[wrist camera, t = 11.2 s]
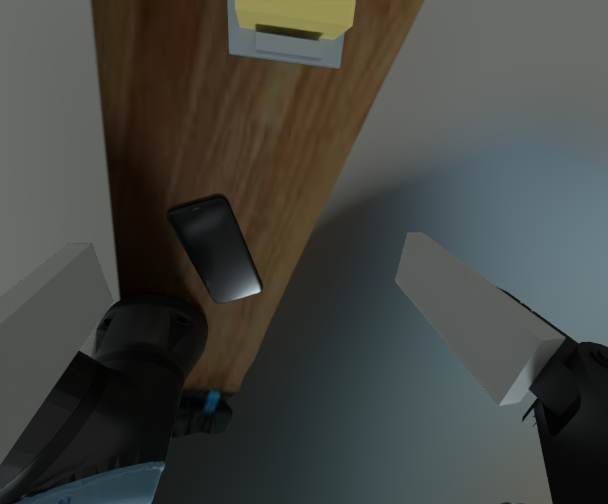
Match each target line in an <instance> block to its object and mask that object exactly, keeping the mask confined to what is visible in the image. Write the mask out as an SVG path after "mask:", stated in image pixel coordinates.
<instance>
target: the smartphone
mask: <svg viewBox="0 0 608 504" xmlns="http://www.w3.org/2000/svg"><path fill="white" fill-rule="evenodd" d="M167 218H168V221H169V223H170V224H171V226H172V228H173V230H174V232H175V233H176V235H177V237H178V239H179V241H180V242H181V244H182V246H183V248H184V250H185V251H186V253H187V255H188V256H189V258H190V260H191V262H192V263H193V265H194V267H195V269H196V271H197V272H198V274H199V276H200V278H201V279H202V281H203V283H204V285H205V286H206V288H207V290H208V292H209V294H210V295H211V297H212V299H213V300H214V302H216V303H218V304H222V303H226V302H229V301H233V300H237V299H240V298H244V297H247V296H251V295H254V294H257V293H260V292H261V291H262V289H263V285H262V283H261V280H260V278H259V275H258V273H257V271H256V268H255V266H254V263H253V261H252V258H251V256H250V254H249V251H248V249H247V246H246V244H245V242H244V239H243V237H242V234H241V231H240V229H239V226H238V224H237V222H236V220H235V217H234V215H233V213H232V210H231V208H230V205H229V203H228V201H227V200H226V199H225V198H223V197H215V198H211V199H207V200H204V201H200V202H197V203H193V204H190V205H186V206H183V207H179V208H176V209H172V210H171V211H169V212H168V214H167Z"/></svg>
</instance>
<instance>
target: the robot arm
mask: <svg viewBox="0 0 608 504" xmlns="http://www.w3.org/2000/svg"><path fill="white" fill-rule="evenodd" d="M395 282H396V283H397V284H398V286H399V287H400V288H401V289H402V290H403V292H404V293H405V294H406V295H407V296H408V298H409V299H410V300H411V301H412V302H413V304H414V305H415V306H416V307H417V308H418V310H419V311H420V312H421V313H422V314H423V316H424V317H425V318H426V319H427V320H428V322H429V323H430V324H431V325H432V326H433V328H434V329H435V330H436V331H437V332H438V334H439V335H440V336H441V337H442V339H443V340H444V341H445V342H446V343H447V345H448V346H449V347H450V348H451V349H452V351H453V352H454V353H455V354H456V355H457V357H458V358H459V359H460V360H461V361H462V362H463V364H464V365H465V366H466V367H467V369H468V370H469V371H470V372H471V373H472V375H473V376H474V377H475V378H476V379H477V381H478V382H479V383H480V384H481V385H482V387H483V388H484V389H485V390H486V391H487V393H488V394H489V395H490V396H491V397H492V399H493V400H494V401H495V402H496V403H497V405H498V406H501V405H507V404H513V403H519V402H520V401H521V400H522V398H523V397H524V395H525V394H526V393H527V391H528V390H530V391H532V393H533V394H534V395H535V396H536V397H537V399H536V400H535V402H534V403H533V404H532V405H531V407H530V408H529V409H528V411H527V412H526V413H525V415H524V416H523V419H522V423H524V424H527V423H528V422H529V421H530V420H531V418H532V417H535V418H536V423H535V424H534V425H533V428H535V429H537V430H538V433H539V438H540V443H541V448H542V453H543V458H544V462H545V468H546V473H547V477H548V483H549V487H550V492H551V497H552V502H553V504H608V347H606V346H603V345H601V344H597V343H592V342H581V343H580V344H579V343H577V342H576V341H574V340H573V339H572V338H570V337H569V336H567V335H566V334H565V333H563V332H562V331H561V330H559V329H558V328H556V327H555V326H554V325H552V324H551V323H550V322H548V321H547V320H545V319H544V318H543V317H541V316H540V315H538V314H537V313H535V312H534V311H533V312H532V311H531V309H530V308H529V307H527V306H526V305H524V304H523V303H520V301H519V300H518V299H516V298H515V297H514V296H512V295H511V294H509V293H508V292H506V291H504V290H502V289H500V288H498V287H496V286H494V285H493V284H492V283H490V282H489V281H488V280H486V279H485V278H484V277H482V276H481V275H480V274H478V273H477V272H476V271H474V270H473V269H471V268H470V267H469V266H467V265H466V264H465V263H463V262H462V261H460V260H459V259H458V258H456V257H455V256H453V255H452V254H451V253H450V252H448V251H447V250H446V249H444V248H443V247H441V246H440V245H439V244H437V243H436V242H435V241H433V240H432V239H431V238H429V237H428V236H426V235H425V234H424V233H422V232H416V233H407V237H406V240H405V245H404V248H403V252H402V256H401V260H400V264H399V268H398V271H397V276H396V279H395ZM112 301H113V300H112V297H111V294H110V291H109V289H108V286H107V283H106V281H105V278H104V275H103V272H102V270H101V267H100V264H99V262H98V259H97V256H96V253H95V251H94V248H93V245H92V243H82V244H81V243H78V244H68V245H66V246H65V247H64V248H62V249H61V250H60V251H59V252H57V253H56V254H55V255H54V256H52V257H51V258H50V259H48V260H47V261H46V262H45V263H43V264H42V265H41V266H39V267H38V268H37V269H36V270H34V271H33V272H32V273H30V274H29V275H28V276H27V277H25V278H24V279H23V280H21V281H20V282H19V283H18V284H16V285H15V286H14V287H12V288H11V289H10V290H9V291H7V292H6V293H5V294H4V295H2V296H1V297H0V504H151V502H152V500H153V497H154V494H155V491H156V487H157V484H158V481H159V478H160V474H161V472H162V471H163V469H164V467H165V459H166V455H167V451H168V447H169V442H170V438H171V435H172V430H173V426H174V422H175V418H176V414H177V410H178V406H179V402H180V397H181V393H182V389H183V385H184V382H185V380H186V378H187V377H188V375H189V374H190V372H191V371H192V369H193V368H194V366H195V365H196V363H197V362H198V360H199V358H200V357H201V355H202V354H203V352H204V349H205V346H206V342H207V337H208V327H207V324H206V321H205V319H204V318H203V316H202V315H201V314H200V313H199V312H198V311H197V310H196V309H195V308H194V307H192V306H191V305H189V304H188V303H186V302H184V301H182V300H180V299H177V298H174V297H171V296H167V295H161V294H139V295H134V296H130V297H127V298H124V299H122V300H120V301H118V302H117V303H115V304H114V305H113V306H111V307H110V308H109V310H108V311H107V312H106V314H105V315H104V317H103V318H102V320H101V321H100V323H99V325H98V327H97V330H96V334H95V340H94V345H93V350H92V355H91V357H89V356H88V355H86V354H84V353H82V352H81V351H79V349H80V348H81V346H82V345H83V343H84V342H85V341H86V339H87V338H88V336H89V335H90V333H91V332H92V330H93V329H94V327H95V326H96V324H97V323H98V322H99V320H100V319H101V317H102V316H103V314H104V313H105V311H106V310H107V308H108V307H109V306H110V304H111V303H112Z"/></svg>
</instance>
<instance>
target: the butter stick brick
mask: <svg viewBox="0 0 608 504" xmlns="http://www.w3.org/2000/svg"><path fill="white" fill-rule="evenodd" d="M355 3H356V0H235V11H236V15H237V18H238V22H239V26H240V27H242V28H249V29H257V30H264V31H271V32H279V33H286V34H293V35H301V36H308V37H316V38H323V39H330V40H335V39H336V38H337V37H339V36H340V35H341V34H342V33H344V32H345V31H346V30H348V29H349V28H350V27H352V25H353V18H354V10H355Z"/></svg>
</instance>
